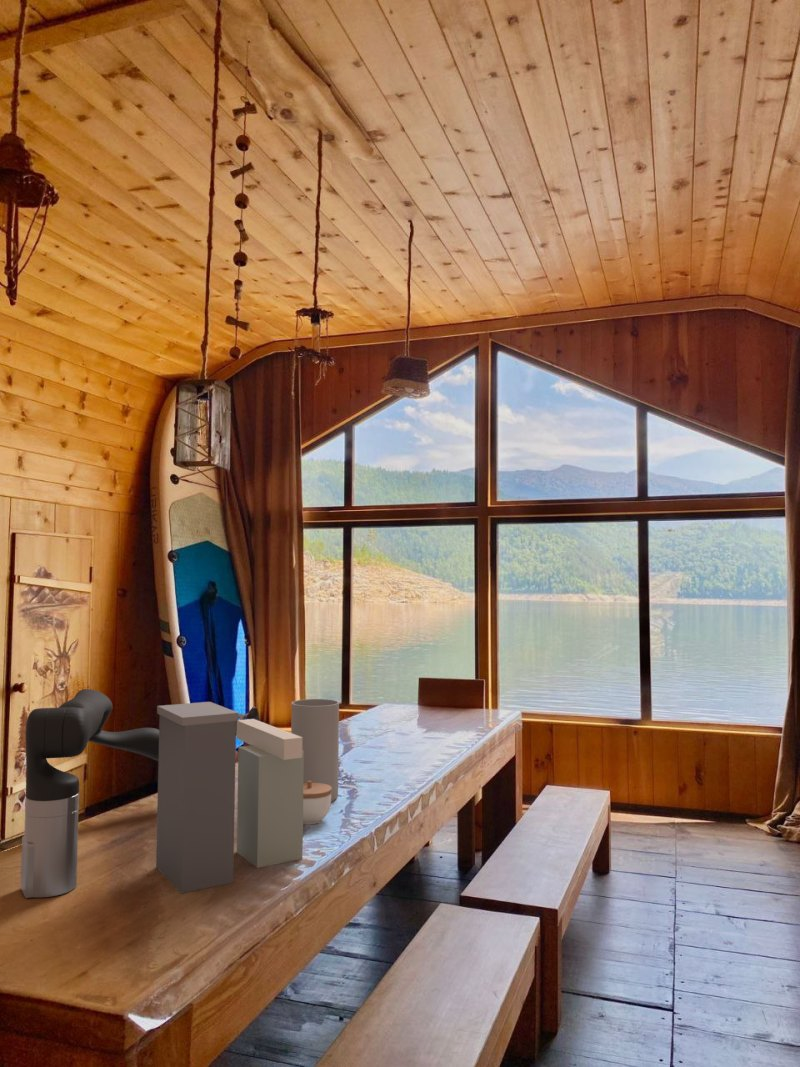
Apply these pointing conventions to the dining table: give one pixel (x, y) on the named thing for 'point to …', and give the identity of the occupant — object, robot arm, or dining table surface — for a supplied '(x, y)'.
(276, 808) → the sage-grey block
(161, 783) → the charcoal stand
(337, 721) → the cylinder vase
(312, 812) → the lidded jar
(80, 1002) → the dining table surface
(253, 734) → the cream block
